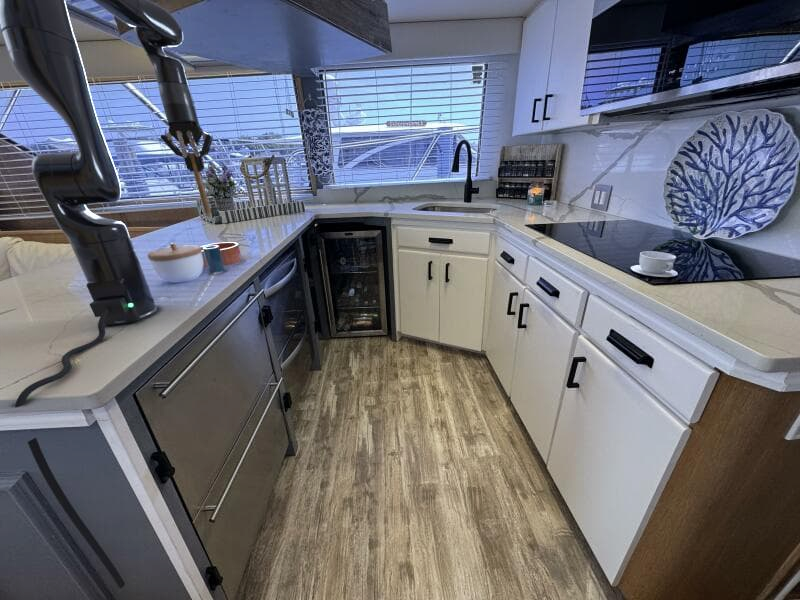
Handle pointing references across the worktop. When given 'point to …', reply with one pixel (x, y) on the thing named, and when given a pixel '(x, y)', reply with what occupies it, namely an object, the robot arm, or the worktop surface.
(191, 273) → the lidded bowl
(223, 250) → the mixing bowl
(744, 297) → the worktop surface
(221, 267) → the utensil pot
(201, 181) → the stirring stick
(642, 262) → the teacup
